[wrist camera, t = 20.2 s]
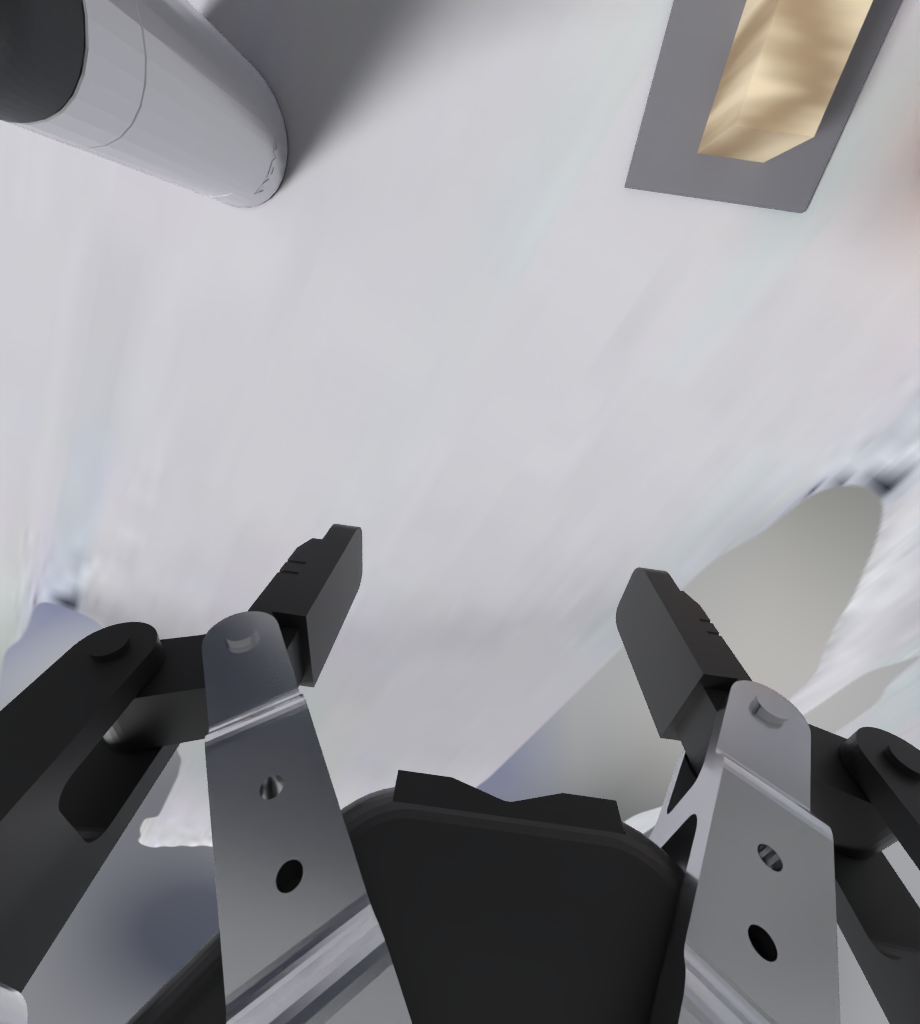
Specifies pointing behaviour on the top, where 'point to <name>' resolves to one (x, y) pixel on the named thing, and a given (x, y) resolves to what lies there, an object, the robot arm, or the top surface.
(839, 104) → the rubber mat
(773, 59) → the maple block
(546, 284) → the top surface
